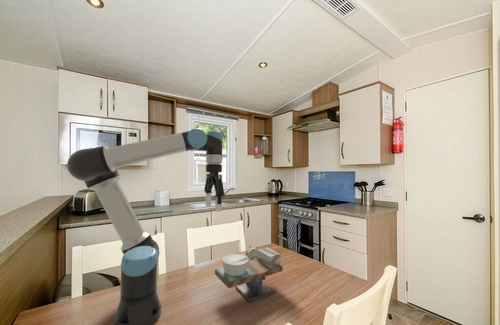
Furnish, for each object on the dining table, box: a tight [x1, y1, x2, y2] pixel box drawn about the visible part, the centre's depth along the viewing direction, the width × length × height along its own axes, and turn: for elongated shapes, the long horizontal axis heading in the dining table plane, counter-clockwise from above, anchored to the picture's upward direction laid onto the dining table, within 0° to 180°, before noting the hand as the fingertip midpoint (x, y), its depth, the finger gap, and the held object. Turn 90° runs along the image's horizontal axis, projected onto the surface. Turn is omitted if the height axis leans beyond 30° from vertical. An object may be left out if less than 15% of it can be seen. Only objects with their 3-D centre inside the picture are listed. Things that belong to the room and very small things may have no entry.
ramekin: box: [221, 253, 249, 276], centre depth 90 cm, size 11×11×5 cm
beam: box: [214, 247, 284, 289], centre depth 94 cm, size 27×15×8 cm, turn 123°
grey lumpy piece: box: [245, 245, 259, 260], centre depth 126 cm, size 9×8×10 cm
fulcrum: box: [235, 278, 274, 303], centre depth 95 cm, size 12×12×7 cm
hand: (213, 208), depth 101 cm, fingers open, 13 cm apart
